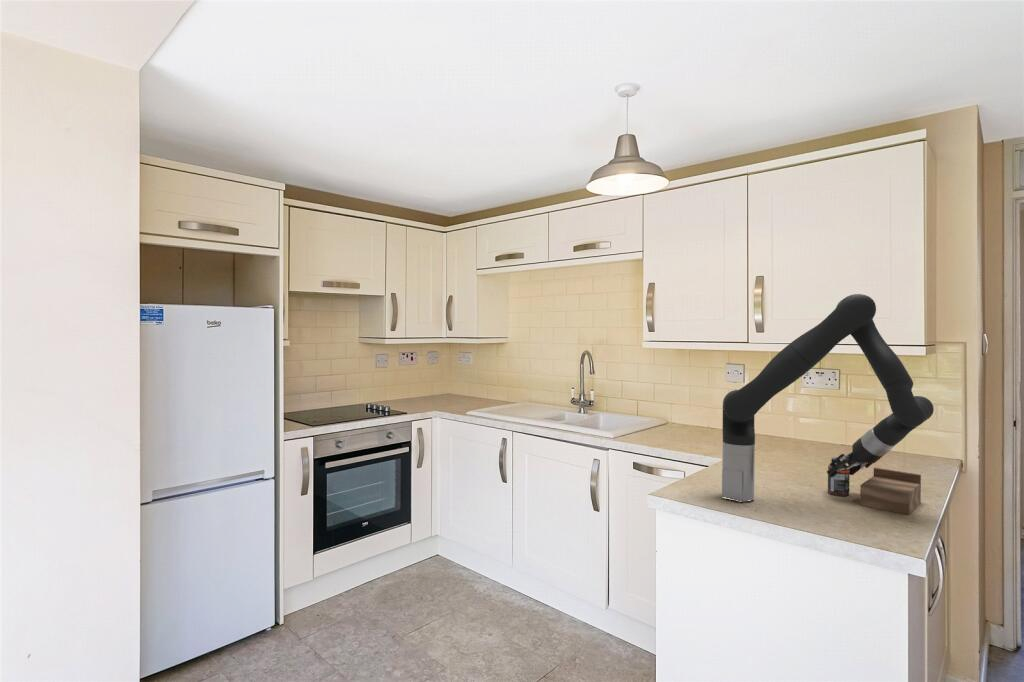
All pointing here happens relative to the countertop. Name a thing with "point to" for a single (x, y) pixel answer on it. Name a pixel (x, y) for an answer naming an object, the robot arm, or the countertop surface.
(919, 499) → the walnut shelf
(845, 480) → the supplement bottle
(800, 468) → the countertop surface
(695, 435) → the countertop surface
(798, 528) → the countertop surface
